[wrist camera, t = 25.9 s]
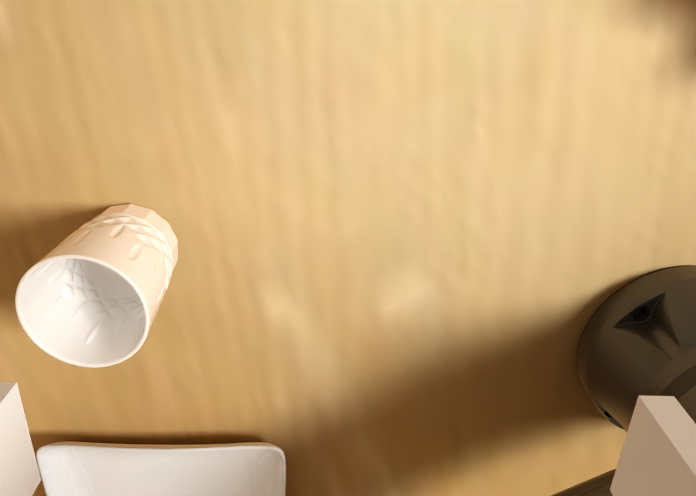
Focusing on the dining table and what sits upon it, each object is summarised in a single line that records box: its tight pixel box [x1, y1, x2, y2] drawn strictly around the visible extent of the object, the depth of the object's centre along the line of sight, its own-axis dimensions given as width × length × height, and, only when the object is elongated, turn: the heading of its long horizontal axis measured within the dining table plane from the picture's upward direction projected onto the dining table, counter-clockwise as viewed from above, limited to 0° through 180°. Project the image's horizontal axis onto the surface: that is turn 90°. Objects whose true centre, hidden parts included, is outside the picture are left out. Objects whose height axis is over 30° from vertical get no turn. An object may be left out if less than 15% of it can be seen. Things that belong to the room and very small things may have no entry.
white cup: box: [15, 204, 178, 367], centre depth 40 cm, size 8×8×10 cm
